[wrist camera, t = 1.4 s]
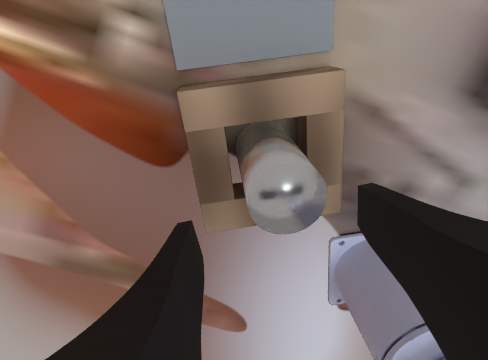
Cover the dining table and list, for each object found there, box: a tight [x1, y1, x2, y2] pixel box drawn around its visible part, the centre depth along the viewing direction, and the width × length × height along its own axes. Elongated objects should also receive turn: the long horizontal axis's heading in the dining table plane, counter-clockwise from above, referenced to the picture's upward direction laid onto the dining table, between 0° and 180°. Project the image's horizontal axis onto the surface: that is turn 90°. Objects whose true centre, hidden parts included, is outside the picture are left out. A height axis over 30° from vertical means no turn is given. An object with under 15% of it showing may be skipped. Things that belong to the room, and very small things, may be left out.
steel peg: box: [236, 121, 328, 234], centre depth 18 cm, size 4×4×8 cm
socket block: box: [177, 66, 346, 233], centre depth 20 cm, size 10×10×2 cm
